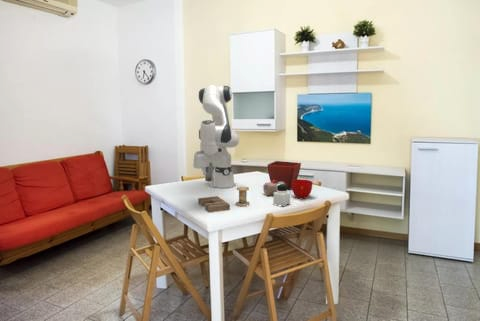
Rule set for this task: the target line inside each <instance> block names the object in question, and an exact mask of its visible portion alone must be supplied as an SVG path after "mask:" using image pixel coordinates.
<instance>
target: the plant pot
mask: <svg viewBox="0 0 480 321" xmlns="http://www.w3.org/2000/svg"><path fill="white" fill-rule="evenodd" d="M301 166H302V162H295V161H294V162H293V161H282V160H274V161H272V162H270V163H268V164H267V171H268V176H269V177H268V178H269V182H271V181H272V180H277V181H278V182H284V183H285V184H286V185H287V191H288V190H289V191H290V190H292V181H293V180H298V178H299V175H300V170H301Z"/></svg>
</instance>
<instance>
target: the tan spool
mask: <svg viewBox="0 0 480 321" xmlns="http://www.w3.org/2000/svg"><path fill="white" fill-rule="evenodd" d="M236 190H237V191H238V201H236V202H235V206H237V205H238V206H237V207H248V206H250V205H249V204H250V202H249V201H247V196H248V195H247V191H249V190H250V187H249V186H243V185H242V186H237V187H236ZM247 205H248V206H247Z"/></svg>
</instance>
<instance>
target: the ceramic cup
mask: <svg viewBox="0 0 480 321" xmlns="http://www.w3.org/2000/svg"><path fill="white" fill-rule="evenodd" d="M312 189H313V180H308V179H297V180H293V181H292V188H291V190H292V193H293V194H294V196H295V197H296V198H297V197H298V199H307V198H308V197H309V196H310V195H311V192H312ZM306 197H307V198H306Z"/></svg>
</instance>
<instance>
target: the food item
mask: <svg viewBox="0 0 480 321" xmlns="http://www.w3.org/2000/svg"><path fill="white" fill-rule="evenodd" d="M278 184H285V183H284V182H278V181H277V180H272V181H269V182H265V183H264V184H263V186H262V187H263V193H264V194H265V195H266V196H267V197H274V193H275V192H277V185H278Z"/></svg>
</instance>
